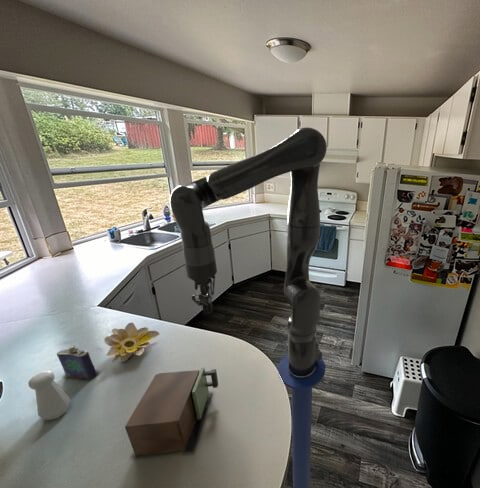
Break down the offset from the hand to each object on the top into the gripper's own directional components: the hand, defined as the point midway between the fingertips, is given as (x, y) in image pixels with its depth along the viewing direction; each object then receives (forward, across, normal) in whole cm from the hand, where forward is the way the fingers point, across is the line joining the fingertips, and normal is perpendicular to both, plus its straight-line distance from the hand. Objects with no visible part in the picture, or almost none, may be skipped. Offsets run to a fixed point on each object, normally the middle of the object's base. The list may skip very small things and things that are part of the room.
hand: (208, 312), depth 74 cm
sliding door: (+21, -13, -1) cm, 25 cm away
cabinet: (+22, -16, +7) cm, 28 cm away
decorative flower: (+22, +10, +30) cm, 39 cm away
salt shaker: (+22, -10, +38) cm, 45 cm away
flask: (+22, +2, +41) cm, 46 cm away
